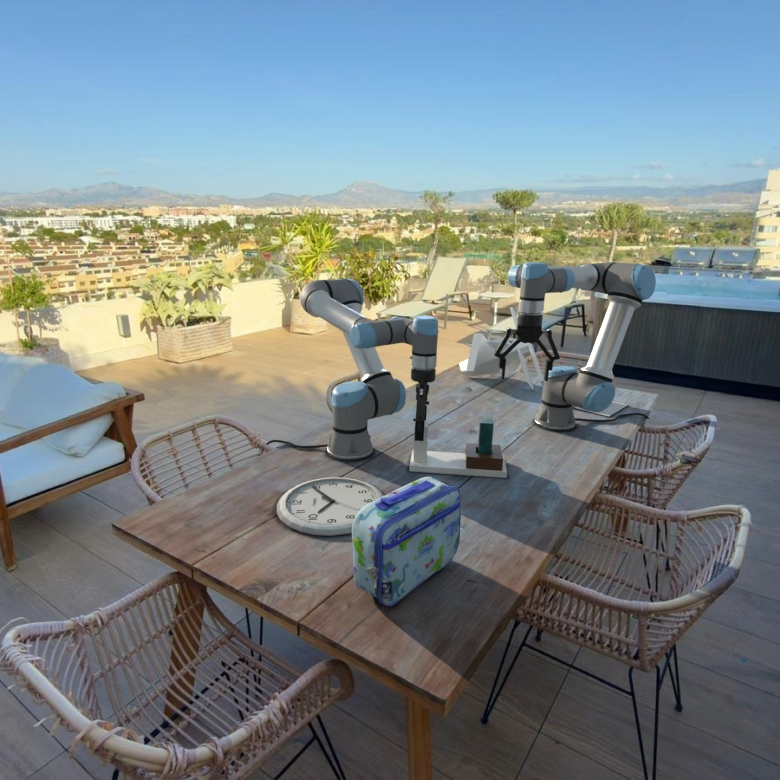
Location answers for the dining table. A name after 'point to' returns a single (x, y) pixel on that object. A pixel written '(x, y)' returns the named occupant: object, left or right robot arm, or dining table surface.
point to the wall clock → (325, 505)
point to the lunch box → (405, 538)
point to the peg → (485, 436)
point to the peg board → (457, 460)
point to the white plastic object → (487, 363)
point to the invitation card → (609, 409)
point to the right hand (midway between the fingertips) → (524, 379)
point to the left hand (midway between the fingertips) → (420, 432)
